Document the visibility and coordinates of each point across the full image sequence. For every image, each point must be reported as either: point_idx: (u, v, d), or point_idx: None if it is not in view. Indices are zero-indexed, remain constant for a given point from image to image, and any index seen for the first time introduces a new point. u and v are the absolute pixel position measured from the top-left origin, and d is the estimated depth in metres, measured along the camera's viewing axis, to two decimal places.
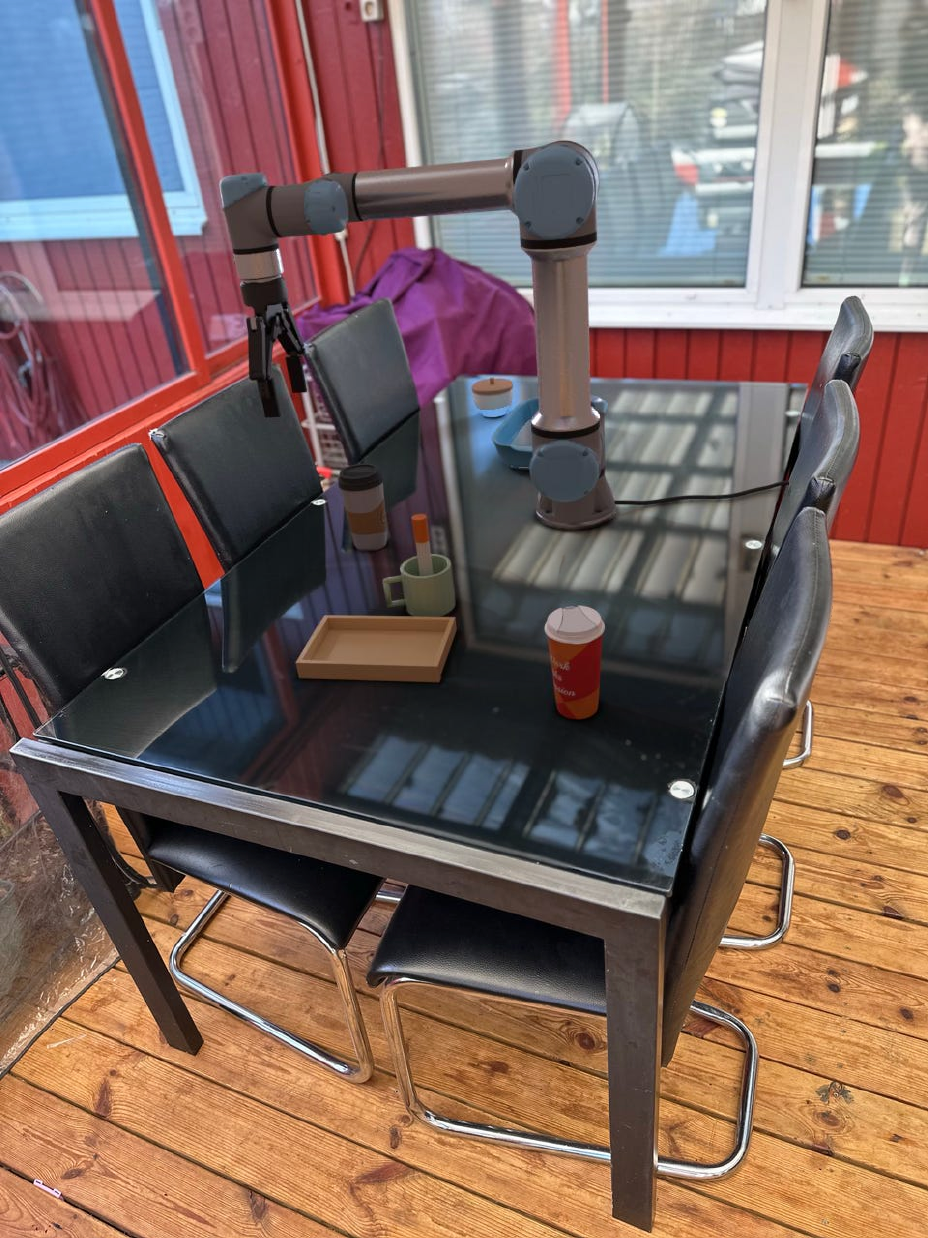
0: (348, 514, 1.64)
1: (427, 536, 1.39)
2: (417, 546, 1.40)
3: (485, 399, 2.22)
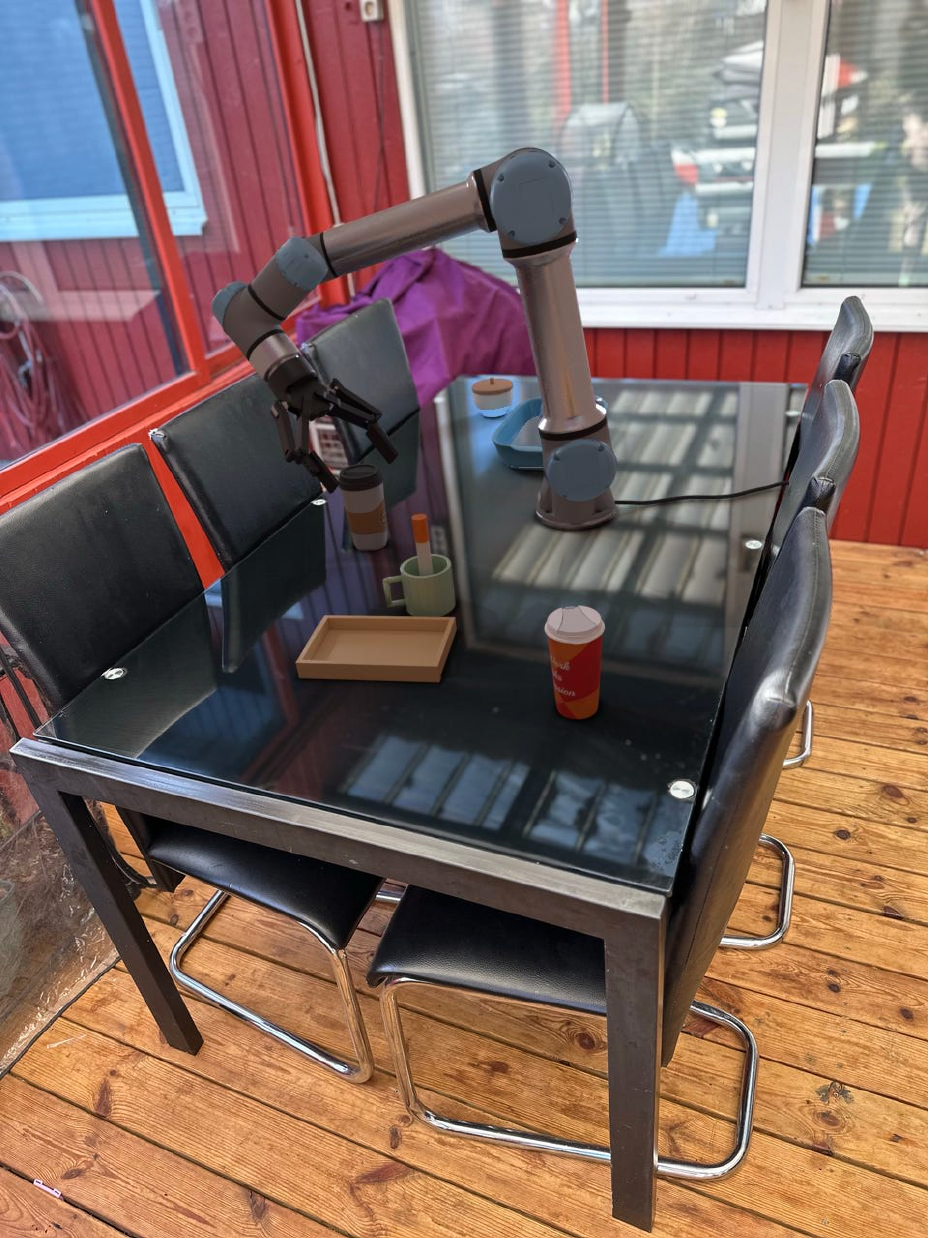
0: (348, 514, 1.64)
1: (427, 536, 1.39)
2: (417, 546, 1.40)
3: (485, 399, 2.22)
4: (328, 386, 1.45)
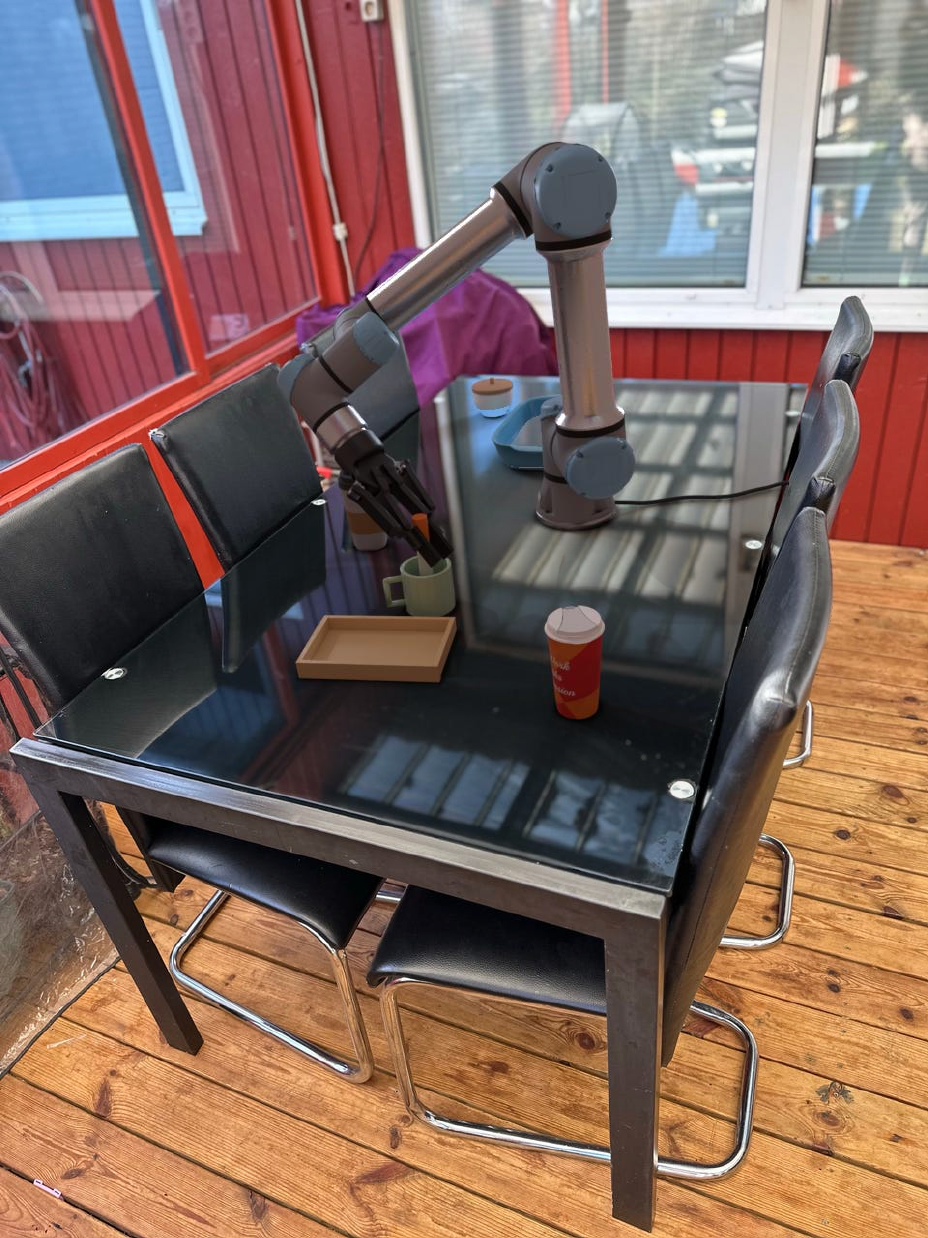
0: (348, 514, 1.64)
1: (427, 536, 1.39)
2: None
3: (485, 399, 2.22)
4: (397, 463, 1.42)
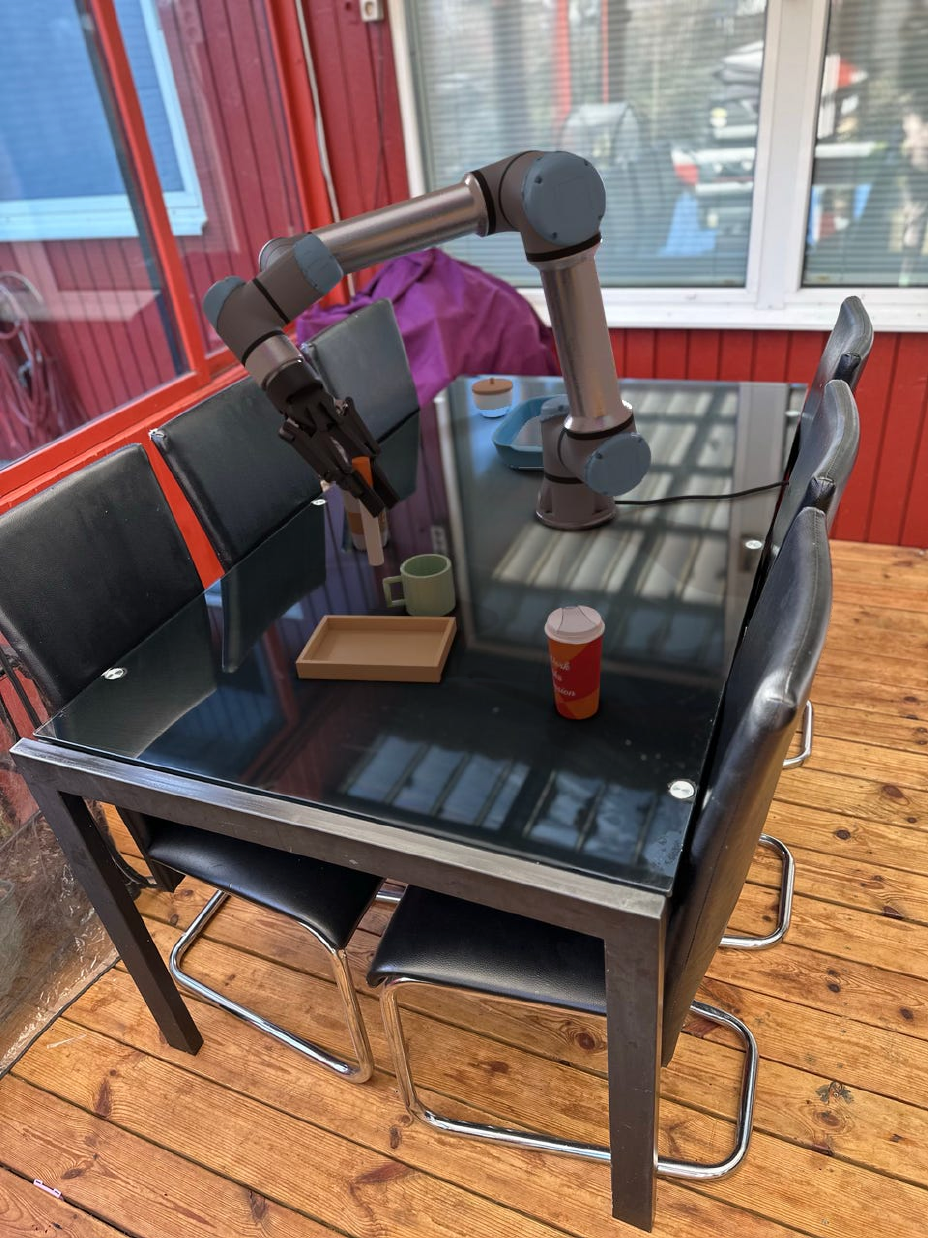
0: (348, 514, 1.64)
1: (370, 482, 1.23)
2: None
3: (485, 399, 2.22)
4: (339, 401, 1.27)
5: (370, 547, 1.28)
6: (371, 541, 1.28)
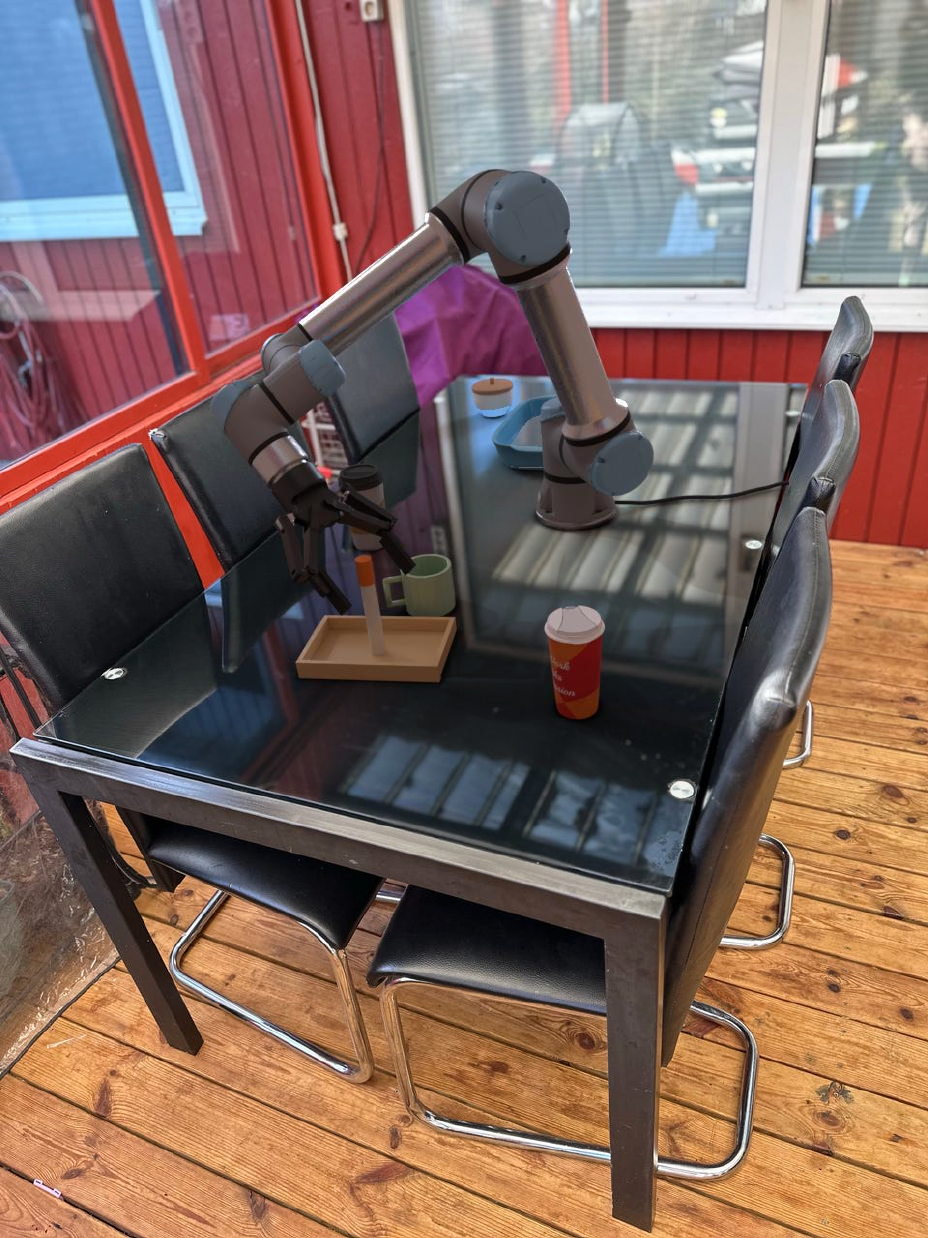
0: None
1: (372, 579, 1.28)
2: (361, 590, 1.29)
3: (485, 399, 2.22)
4: (338, 491, 1.32)
5: (372, 638, 1.33)
6: (373, 633, 1.32)
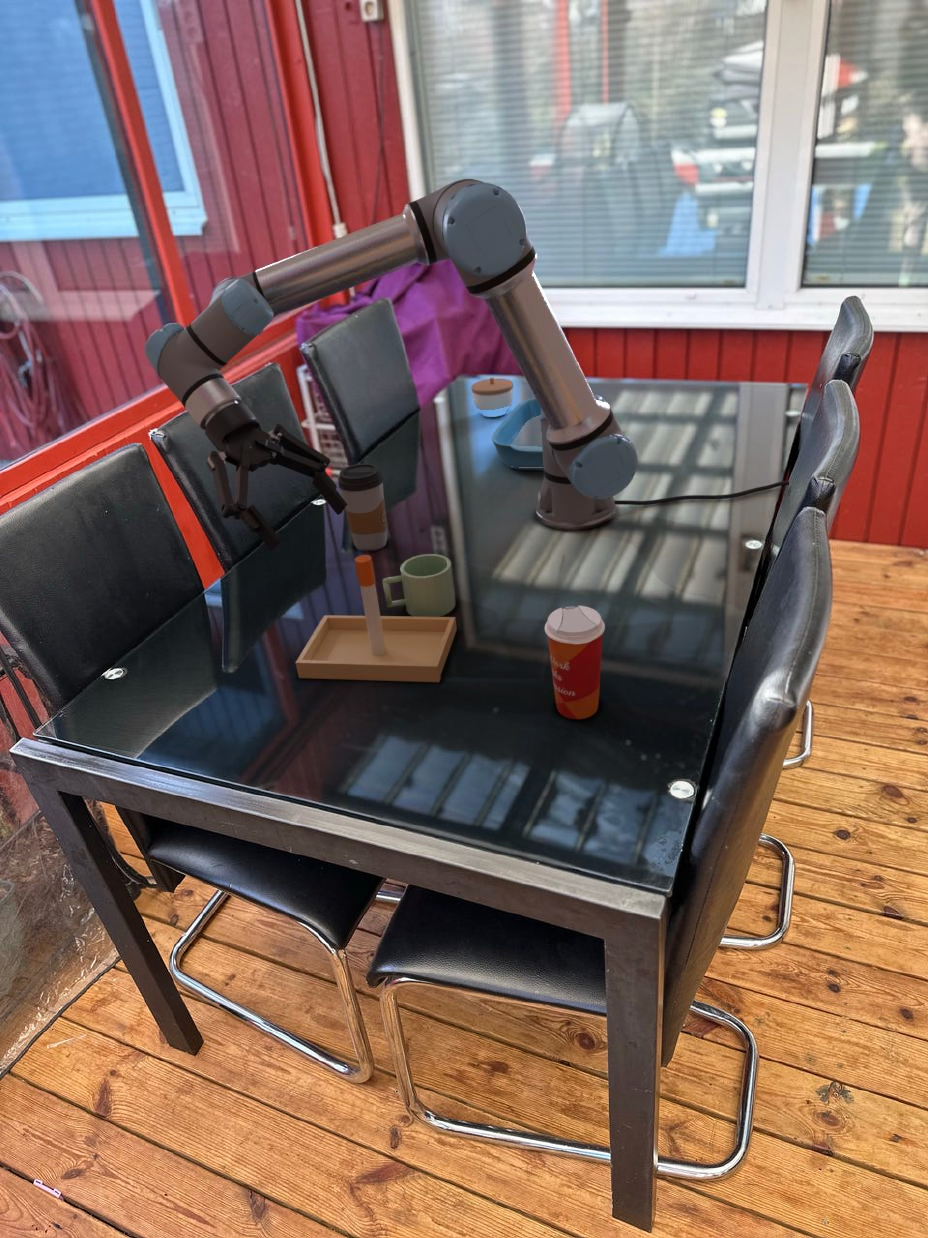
0: (348, 514, 1.64)
1: (372, 579, 1.28)
2: (361, 590, 1.29)
3: (485, 399, 2.22)
4: (271, 433, 1.36)
5: (372, 638, 1.33)
6: (373, 633, 1.32)
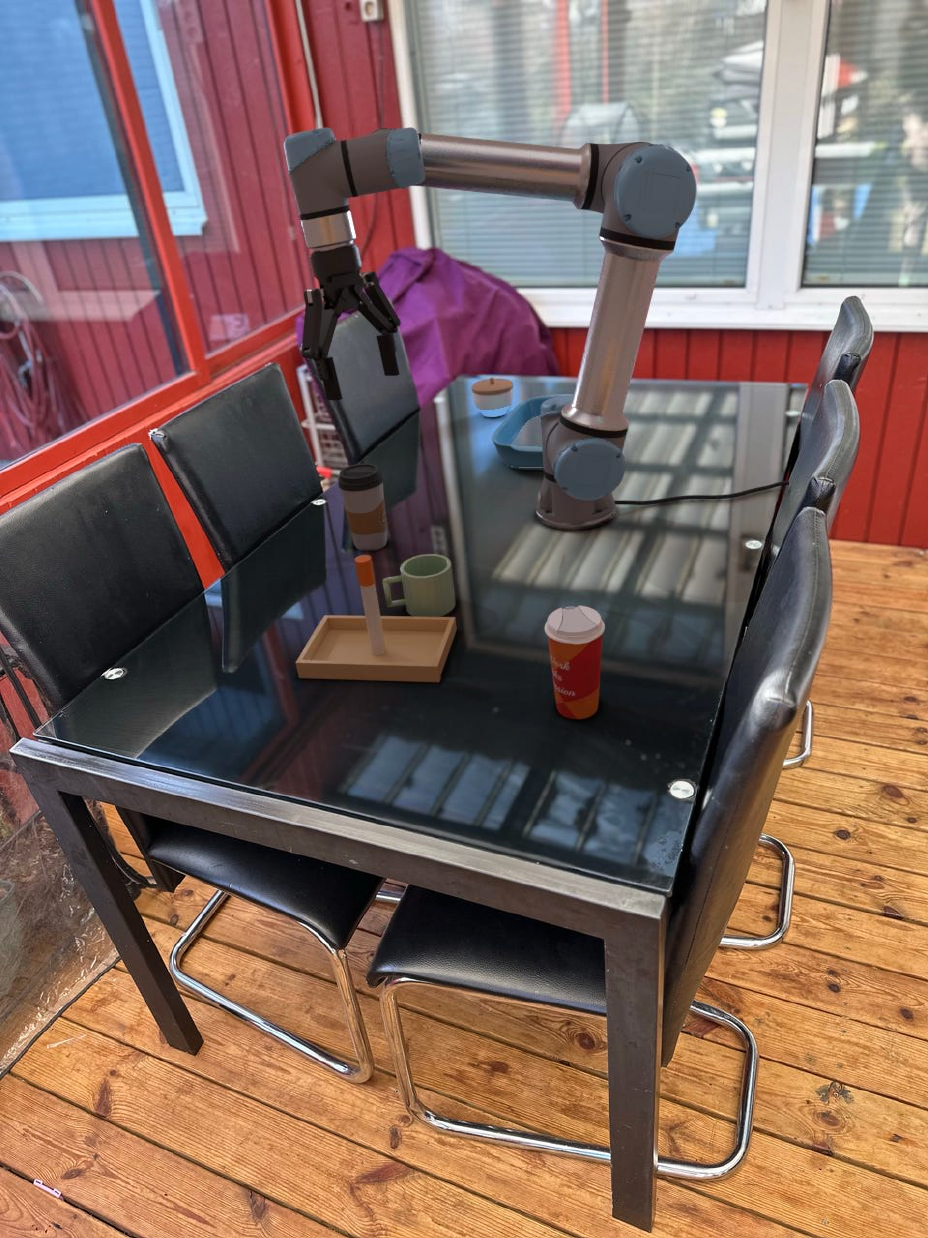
0: (348, 514, 1.64)
1: (372, 579, 1.28)
2: (361, 590, 1.29)
3: (485, 399, 2.22)
4: (364, 277, 1.38)
5: (372, 638, 1.33)
6: (373, 633, 1.32)
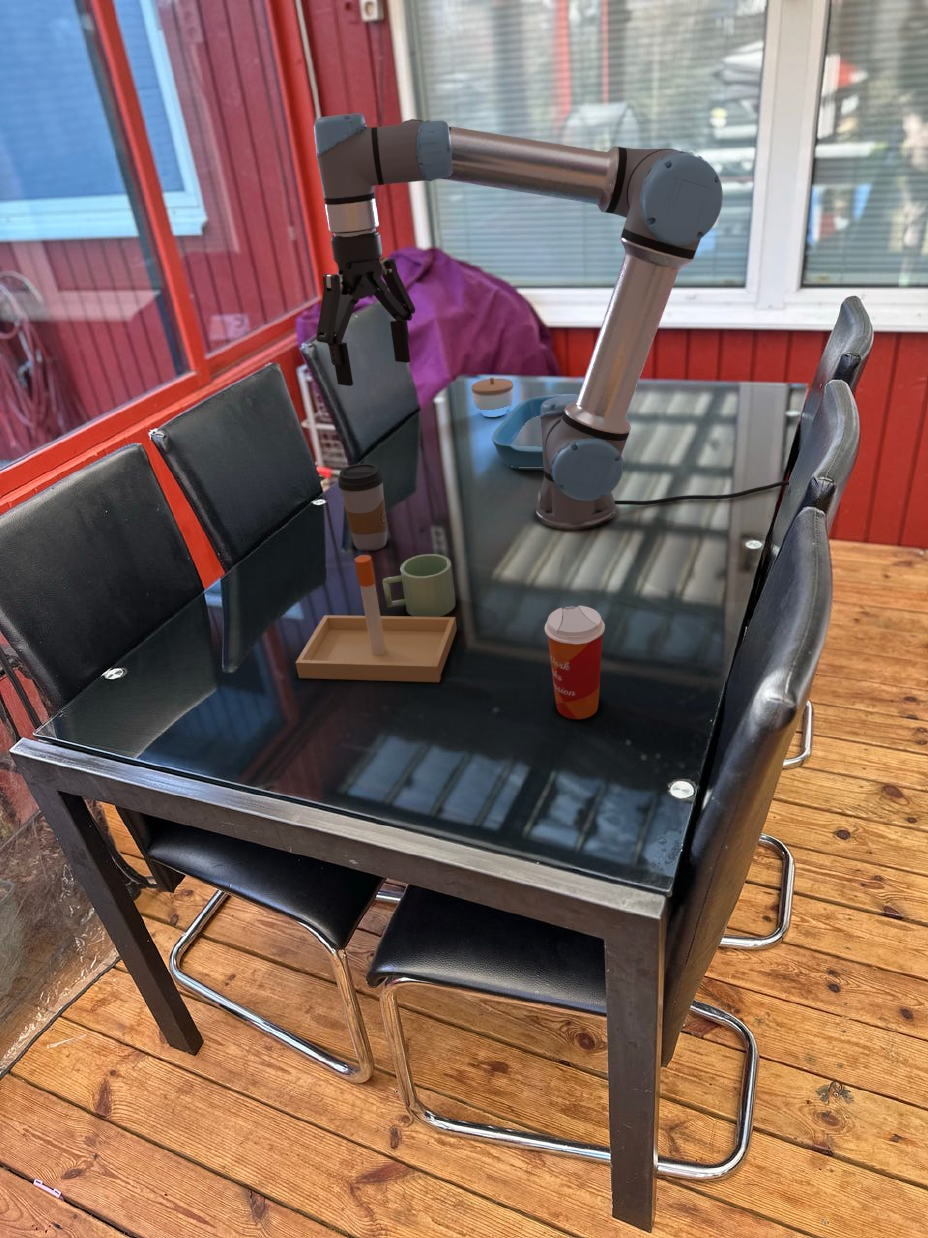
0: (348, 514, 1.64)
1: (372, 579, 1.28)
2: (361, 590, 1.29)
3: (485, 399, 2.22)
4: (383, 264, 1.39)
5: (372, 638, 1.33)
6: (373, 633, 1.32)
